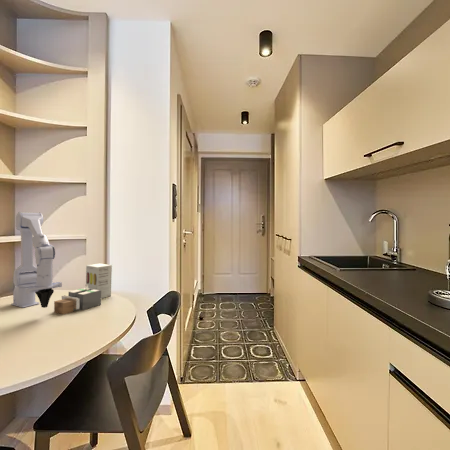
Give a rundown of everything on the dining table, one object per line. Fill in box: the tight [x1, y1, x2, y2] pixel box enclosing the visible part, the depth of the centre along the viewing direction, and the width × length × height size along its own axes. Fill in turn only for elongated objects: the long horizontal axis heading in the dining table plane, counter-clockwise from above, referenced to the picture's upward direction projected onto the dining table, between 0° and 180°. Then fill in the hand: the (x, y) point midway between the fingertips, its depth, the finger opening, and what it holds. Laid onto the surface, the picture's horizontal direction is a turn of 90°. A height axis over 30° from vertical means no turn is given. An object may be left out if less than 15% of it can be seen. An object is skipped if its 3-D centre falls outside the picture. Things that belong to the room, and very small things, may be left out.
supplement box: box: [85, 262, 113, 299], centre depth 167 cm, size 10×9×17 cm
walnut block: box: [53, 298, 74, 315], centre depth 140 cm, size 6×5×5 cm
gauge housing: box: [67, 287, 102, 311], centre depth 150 cm, size 10×10×7 cm
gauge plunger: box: [61, 283, 88, 310], centre depth 147 cm, size 11×10×9 cm
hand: (44, 307), depth 132 cm, fingers closed
